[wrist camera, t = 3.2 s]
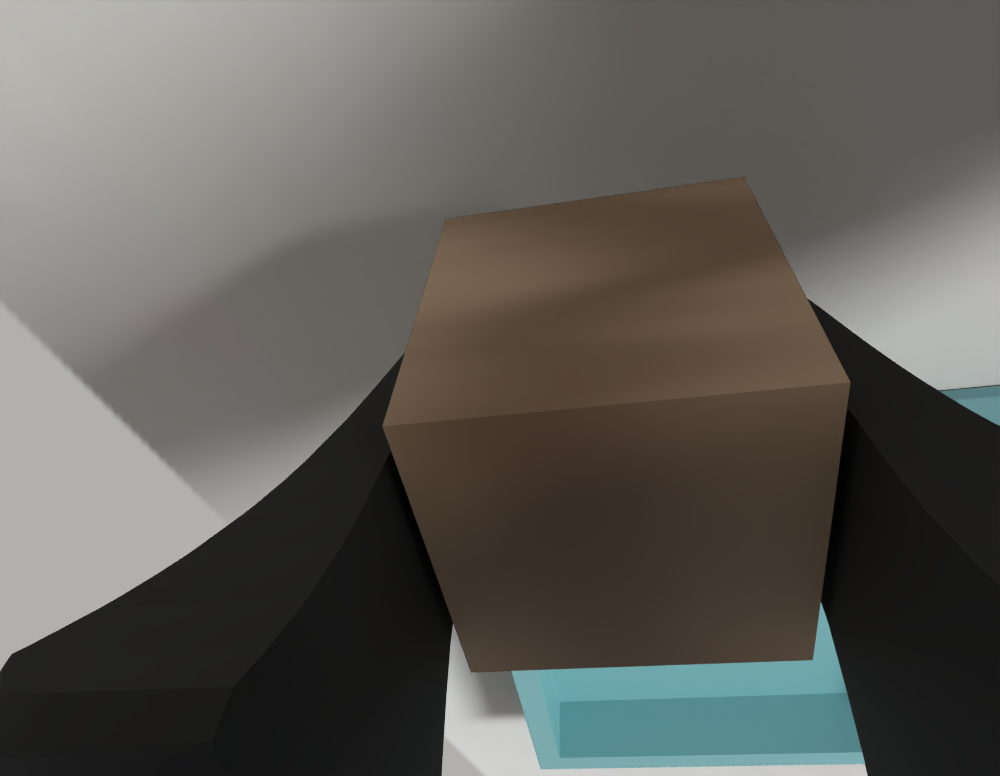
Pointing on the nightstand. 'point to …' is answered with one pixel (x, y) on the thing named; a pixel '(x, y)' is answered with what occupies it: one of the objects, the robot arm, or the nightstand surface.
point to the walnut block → (621, 434)
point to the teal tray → (703, 702)
